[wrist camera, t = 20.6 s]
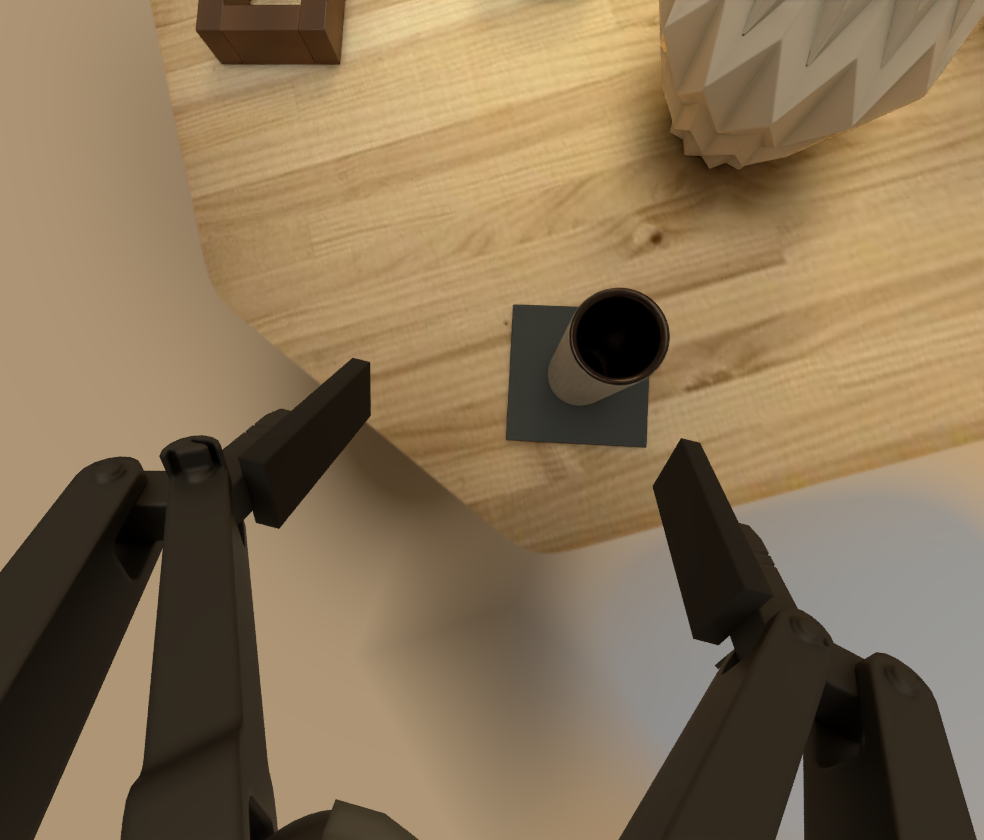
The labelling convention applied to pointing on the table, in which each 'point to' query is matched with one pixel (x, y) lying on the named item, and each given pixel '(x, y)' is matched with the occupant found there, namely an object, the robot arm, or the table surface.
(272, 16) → the brown square frame
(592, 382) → the beige hollow cylinder
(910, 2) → the vase
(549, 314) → the mat
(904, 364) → the table surface
